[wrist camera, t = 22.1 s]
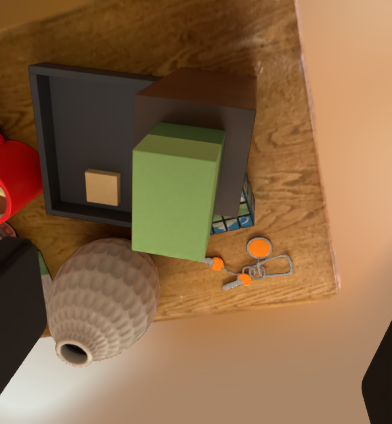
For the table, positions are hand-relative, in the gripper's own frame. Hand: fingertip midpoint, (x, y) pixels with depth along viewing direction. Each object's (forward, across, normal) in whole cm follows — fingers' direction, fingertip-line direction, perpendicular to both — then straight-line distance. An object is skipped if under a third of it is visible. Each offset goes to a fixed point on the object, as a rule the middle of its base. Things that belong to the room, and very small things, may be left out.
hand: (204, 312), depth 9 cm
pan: (+32, +16, +8) cm, 37 cm away
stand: (+32, +3, +2) cm, 33 cm away
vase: (+32, +13, +24) cm, 42 cm away
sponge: (+16, +3, +3) cm, 17 cm away
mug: (+32, +28, +11) cm, 44 cm away
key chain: (+32, -3, +21) cm, 39 cm away
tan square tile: (+32, +15, +13) cm, 37 cm away
